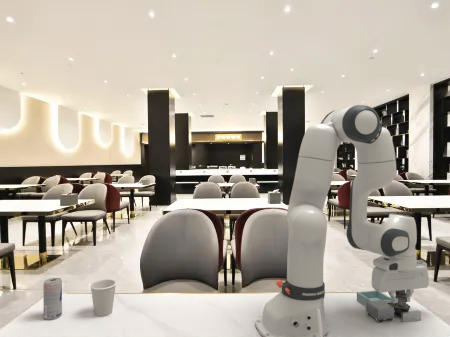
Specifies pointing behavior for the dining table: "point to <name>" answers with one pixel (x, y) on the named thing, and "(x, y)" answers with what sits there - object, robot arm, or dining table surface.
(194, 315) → the dining table surface
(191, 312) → the dining table surface
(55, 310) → the energy drink
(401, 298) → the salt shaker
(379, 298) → the tray
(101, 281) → the dixie cup
